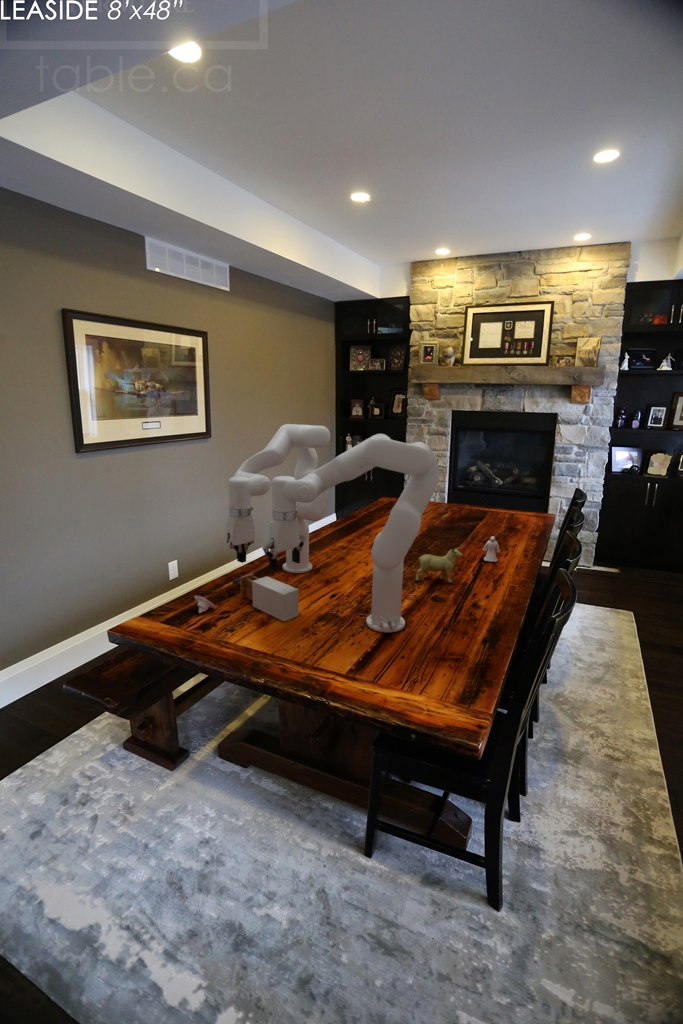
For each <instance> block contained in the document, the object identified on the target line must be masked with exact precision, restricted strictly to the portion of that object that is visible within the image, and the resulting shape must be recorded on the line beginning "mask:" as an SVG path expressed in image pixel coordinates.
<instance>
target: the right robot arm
mask: <svg viewBox="0 0 683 1024" xmlns="http://www.w3.org/2000/svg"><path fill="white" fill-rule="evenodd" d="M376 467H377V468H381V469H384V470H388V471H393V472H397V473H401V474H406V475H409V477H408V480H407V482H406V484H405V486H404V489H403V490H402V492H401V493H400V495H399V497H398V498H397V499H398V500H396V503H395V504H394V506H393V507H392V508H391V510H390V513H389V516H388V519H387V521H386V523H385V525H384V527H383V528H382V530H381V531H380V532H378V534H377V535H376V536H375V538H374V540H373V544H372V548H371V560H372V561H373V563H372V585H371V586H372V587H371V607H370V609H371V613H370V615H368V616H367V617H366V621H365V622H366V623H365V624H366V625H367V627H368V628H369V629H372V630H373V631H376V632H379V633H396V632H398V631H402V630H403V629H404V628H405V626H406V620H405V618H403V617H402V615H401V614H402V599H403V598H402V597H403V580H404V561H405V557H406V555H407V554H408V553H409V550H410V549H411V547H412V545H413V544H414V541H415V540H416V538H417V537H418V534H419V532H420V529H421V526H422V517H423V514H424V512H425V510H426V509H427V507H428V505H429V503H430V501H431V499H432V497H433V495H434V493H435V491H436V488H437V485H438V482H439V477H440V469H439V462H438V459H437V457H436V455H435V453H434V451H433V450H432V449H431V447H430V446H429V445H428V444H426V443H425V442H422V441H415V442H412V443H407V442H402V441H398V440H394V439H392V438H391V437H390V436H388V435H387V434H385V433H376V434H374V435H371V436H370V437H368V438H366V439H365V440H363V441H361V442H360V443H357V444H356V445H355V446H353V447H351V448H350V449H347V450H346V451H344V452H342V453H340V454H339V455H337V456H335V457H334V458H333V459H332V460H331V461H328V462H327V463H325V464H324V465H322V466H320V467H317V468H316V470H315V471H313V472H311V473H310V474H308V475H306V476H305V477H303V478H302V479H299V480H295V478H293V477H294V476H289V475H279V476H275V477H274V478H272V481H271V491H272V492H271V494H272V495H271V502H272V503H271V505H272V519H270V520H269V521H270V522H269V526H268V535H267V542H266V543H265V544H264V545H262V548H261V549H262V551H263V553H264V555H265V556H266V557H267V558H268V566H269V570H271V571H276V572H277V571H278V559H277V557H278V554H279V553H282V552H285V551H286V550H289V549H292V548H293V549H294V550H292V561H293V562H295V563H300V551H301V550H302V549H301V548H302V546H303V545H304V541H305V538H306V537H305V536H303V535H300V534H299V524H298V519H297V518H296V513H298V510H297V509H296V501H297V502H301V503H310V502H312V501H314V500H315V499H316V498H317V496H318V495H319V494H321V493H322V492H324V491H326V490H328V489H329V488H330V489H331V488H333V487H335V486H337V485H339V484H341V483H344V482H350V481H352V480H355V479H356V478H358V477H360V476H362V475H364V474H365V473H367V472H369V471H371V470H372V469H374V468H376ZM330 489H329V490H330Z"/></svg>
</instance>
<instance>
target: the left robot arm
mask: <svg viewBox="0 0 683 1024" xmlns="http://www.w3.org/2000/svg"><path fill="white" fill-rule="evenodd" d="M330 441H331V432H330V430H329V428H327V427H326V426H325V425H313V424H312V425H311V424H293V423H285V424H283V425H281V426H280V427H279V428H278V430H277V431H276V432H275V434H274V435H273V436H272V438H271V439H270V441H269V442H268V444H267V445H266V446H265V448H264V449H262V450H261V451H258V452H257V453H255V454H254V455H251V456H250V457H248V458H247V459H246V460H244V462H243V463H242V464H241V465H240V466H239V467H238V469H237V470H236V471H235V474H234V475H233V476H232V477H230V478H229V479H228V480H227V487H228V488H227V491H228V516H227V517H226V522H225V529H224V530H225V534H224V535H225V536H224V537H225V538H224V539H225V543H226V544H227V549H230V550H234V551H235V552H236V560H237V562H239V563H241V564H243V563H247V551H248V549H249V547H250V546H251V545H252V544H254V543H255V539H256V528H255V527H256V526H255V519H254V516H253V514H252V511H253V510H254V507H253V506H252V500H251V499H252V498H251V497H258V496H259V497H261V496H264V495H266V494H268V493H269V491H270V490H271V488H272V482H271V480H270V479H269V478H268V477H267V476H266V475H263V474H260V473H259V472H262V471H264V470H267V469H268V470H269V469H271V468H275V467H278V466H281V465H282V464H284V462H285V461H286V459H287V458H288V456H289V455H290V453H291V451H292V450H293V449H294V448H295V450H296V453H297V459H296V464H295V468H294V473H293V476H292V477H293V478H295V480H299V479H302V478H303V477H305V476H306V475H308V474H310V473H311V472H313V471H315V470H317V469H318V462H319V456H318V453H317V451H316V449H320V448H321V449H322V448H325V447H327V446H328V445H329V443H330ZM258 473H259V474H258ZM330 489H331V488H329V489H328V490H326V491H324V492H322V493H321V494H319V495H318V496H317V498H316V499H315V500H314V501H312V502H310V503H301V502H297V501H296V509H297V510H298V513H296V518H297V519H298V524H299V534H300V535H303V536H305V537H306V538H305V541H304V545H303V546H302V548H301V549H302V550H301V551H300V563H295V562H293V561H292V550H294V549H293V548H292V549H289V550H286V552H285V554H286V555H285V563H283V564H282V570H283V571H285V572H287V573H291V574H303V573H307V572H310V571H311V570H313V567H314V566H313V564H312V562H310V527H309V523H308V521H312V522H318V521H320V520H322V518H323V517H324V514H325V511H326V508H327V504H328V503H327V502H328V497H329V494H330Z"/></svg>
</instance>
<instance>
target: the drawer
mask: <svg viewBox="0 0 683 1024" xmlns="http://www.w3.org/2000/svg"><path fill="white" fill-rule="evenodd" d="M260 578H261V577H260ZM260 578H259V577H257V576H255V573H249V574H245V575H242V576H240V577H239V578H236V579H233V580H232V584H233V585H234V584H235V585H238V586H240V588H239V589H240V590H239V591H240V598H242V599H244V598H247V599H249V600H250V601H253V595H252V581H254V580H257V579H260Z"/></svg>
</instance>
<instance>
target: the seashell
mask: <svg viewBox="0 0 683 1024" xmlns="http://www.w3.org/2000/svg"><path fill="white" fill-rule="evenodd" d="M193 598H194V601H195V602H196V603H197V605H196V606H197V607H198V609H197V610H198V611H197V612H198V614H201V613H205V612H206V611H207V610H209V608H210V609H213V610H216V609H217V607H216V604H214V603H213V601H210V600H209V599H207V598H206V597H204V596H201V595H194V596H193Z"/></svg>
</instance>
